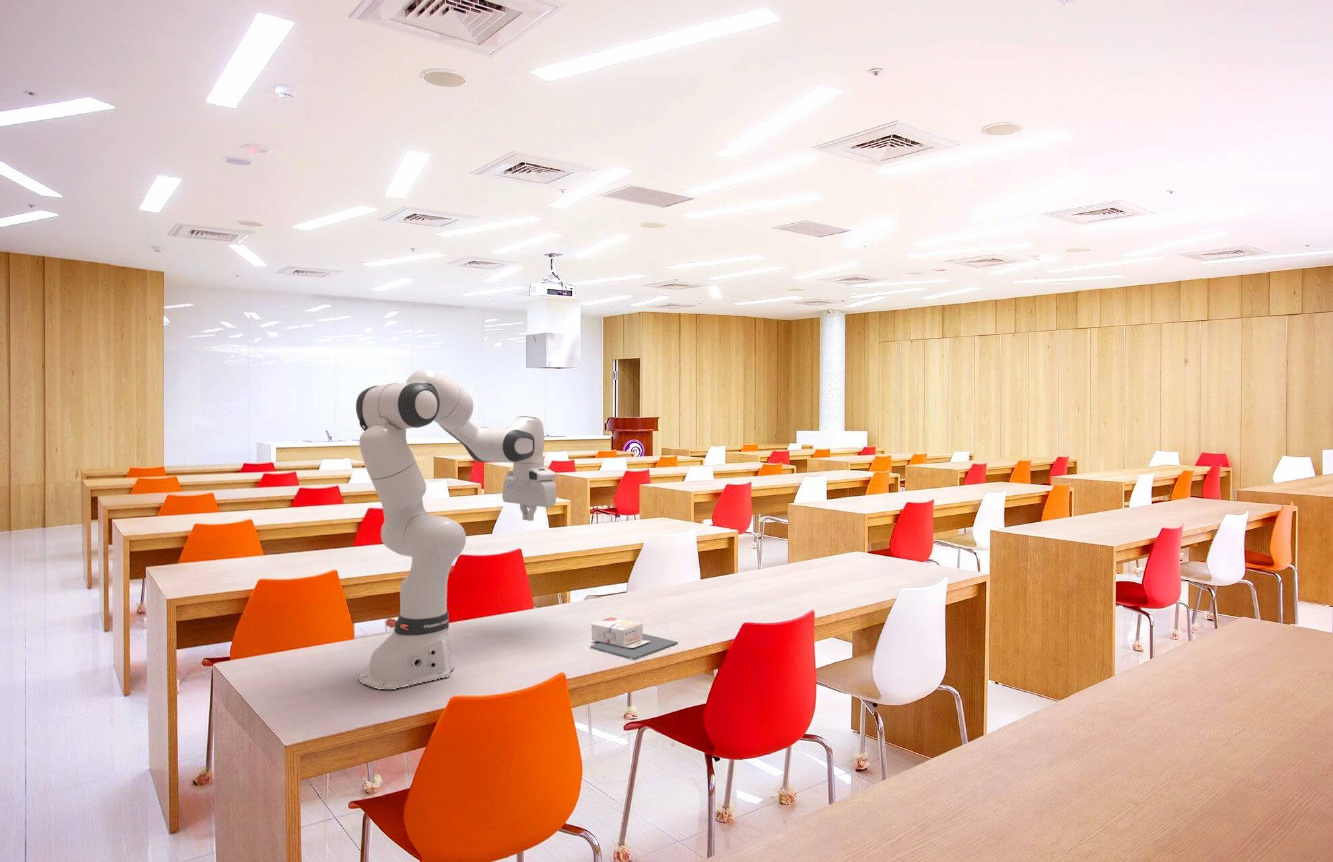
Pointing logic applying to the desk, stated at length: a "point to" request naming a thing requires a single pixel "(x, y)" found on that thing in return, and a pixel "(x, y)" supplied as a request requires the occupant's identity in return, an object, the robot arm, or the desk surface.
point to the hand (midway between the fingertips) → (528, 520)
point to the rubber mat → (638, 651)
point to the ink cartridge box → (618, 632)
